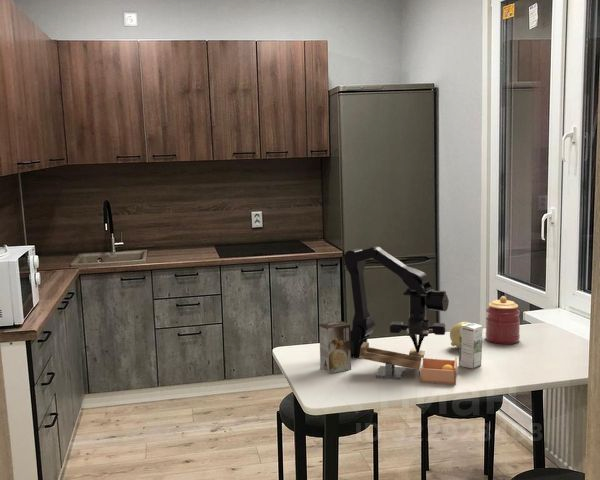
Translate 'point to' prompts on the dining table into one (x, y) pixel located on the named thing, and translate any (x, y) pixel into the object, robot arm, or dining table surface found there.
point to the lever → (392, 356)
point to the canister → (502, 322)
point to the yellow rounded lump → (456, 334)
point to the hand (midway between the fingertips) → (417, 352)
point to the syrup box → (470, 345)
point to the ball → (447, 367)
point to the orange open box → (438, 371)
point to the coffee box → (335, 347)
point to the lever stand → (390, 372)
